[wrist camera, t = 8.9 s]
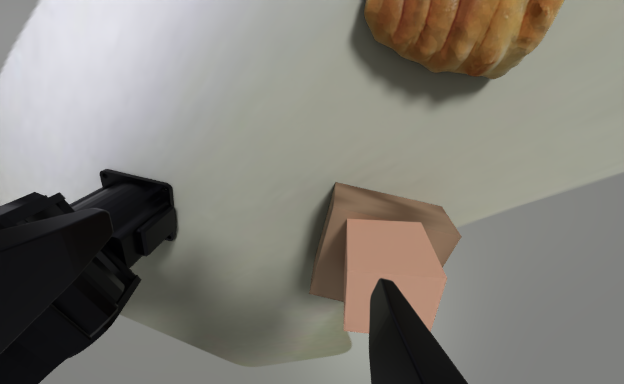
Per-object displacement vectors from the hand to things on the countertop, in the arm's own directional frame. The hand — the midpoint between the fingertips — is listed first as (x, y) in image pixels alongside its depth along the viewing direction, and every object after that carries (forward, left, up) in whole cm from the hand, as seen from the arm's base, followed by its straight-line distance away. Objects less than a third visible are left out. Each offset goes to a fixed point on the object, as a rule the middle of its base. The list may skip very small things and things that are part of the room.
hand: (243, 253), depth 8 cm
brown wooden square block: (+8, -7, -13) cm, 17 cm away
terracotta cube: (+7, -5, -9) cm, 13 cm away
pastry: (+8, +10, -13) cm, 18 cm away
